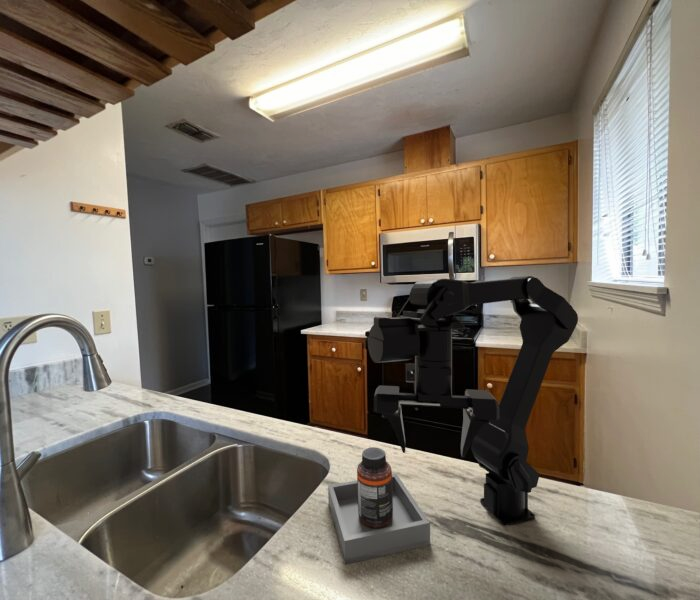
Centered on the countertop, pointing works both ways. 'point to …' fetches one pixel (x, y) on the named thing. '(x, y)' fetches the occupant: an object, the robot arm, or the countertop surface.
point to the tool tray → (369, 542)
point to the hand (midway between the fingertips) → (432, 453)
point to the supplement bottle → (374, 489)
